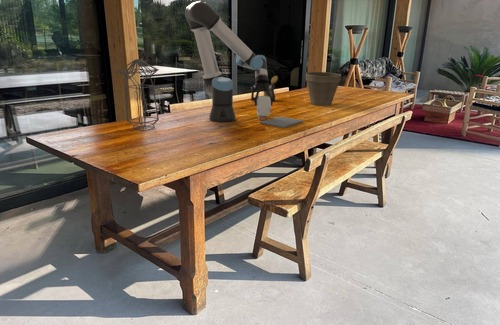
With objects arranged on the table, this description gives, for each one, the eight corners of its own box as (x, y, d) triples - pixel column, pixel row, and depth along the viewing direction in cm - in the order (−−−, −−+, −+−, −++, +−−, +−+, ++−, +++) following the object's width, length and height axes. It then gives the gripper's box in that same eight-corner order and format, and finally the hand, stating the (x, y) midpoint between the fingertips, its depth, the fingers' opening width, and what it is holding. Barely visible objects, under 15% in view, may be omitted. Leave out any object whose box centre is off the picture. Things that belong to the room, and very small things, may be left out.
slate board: (283, 128, 210) (283, 126, 210) (259, 123, 219) (259, 121, 219) (302, 122, 225) (303, 120, 225) (280, 118, 234) (280, 116, 234)
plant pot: (341, 107, 271) (344, 76, 264) (306, 106, 271) (308, 75, 265) (334, 101, 295) (337, 72, 288) (302, 100, 295) (304, 71, 288)
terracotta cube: (265, 120, 229) (266, 113, 227) (259, 120, 228) (259, 113, 227) (264, 118, 233) (265, 111, 231) (258, 118, 232) (258, 111, 231)
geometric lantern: (143, 133, 192) (136, 60, 181) (121, 130, 200) (113, 59, 189) (165, 127, 205) (160, 58, 194) (144, 124, 213) (137, 57, 202)
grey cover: (269, 115, 227) (270, 97, 224) (258, 115, 226) (258, 97, 223) (267, 113, 233) (268, 96, 230) (256, 113, 232) (257, 95, 229)
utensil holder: (280, 99, 297) (281, 75, 291) (269, 101, 287) (270, 77, 281) (271, 98, 302) (272, 74, 296) (260, 100, 293) (260, 75, 287)
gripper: (276, 82, 240) (279, 113, 230) (244, 81, 238) (246, 113, 228) (278, 74, 233) (281, 106, 223) (246, 73, 231) (247, 105, 221)
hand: (264, 109), depth 225 cm, fingers closed on grey cover, 7 cm apart
